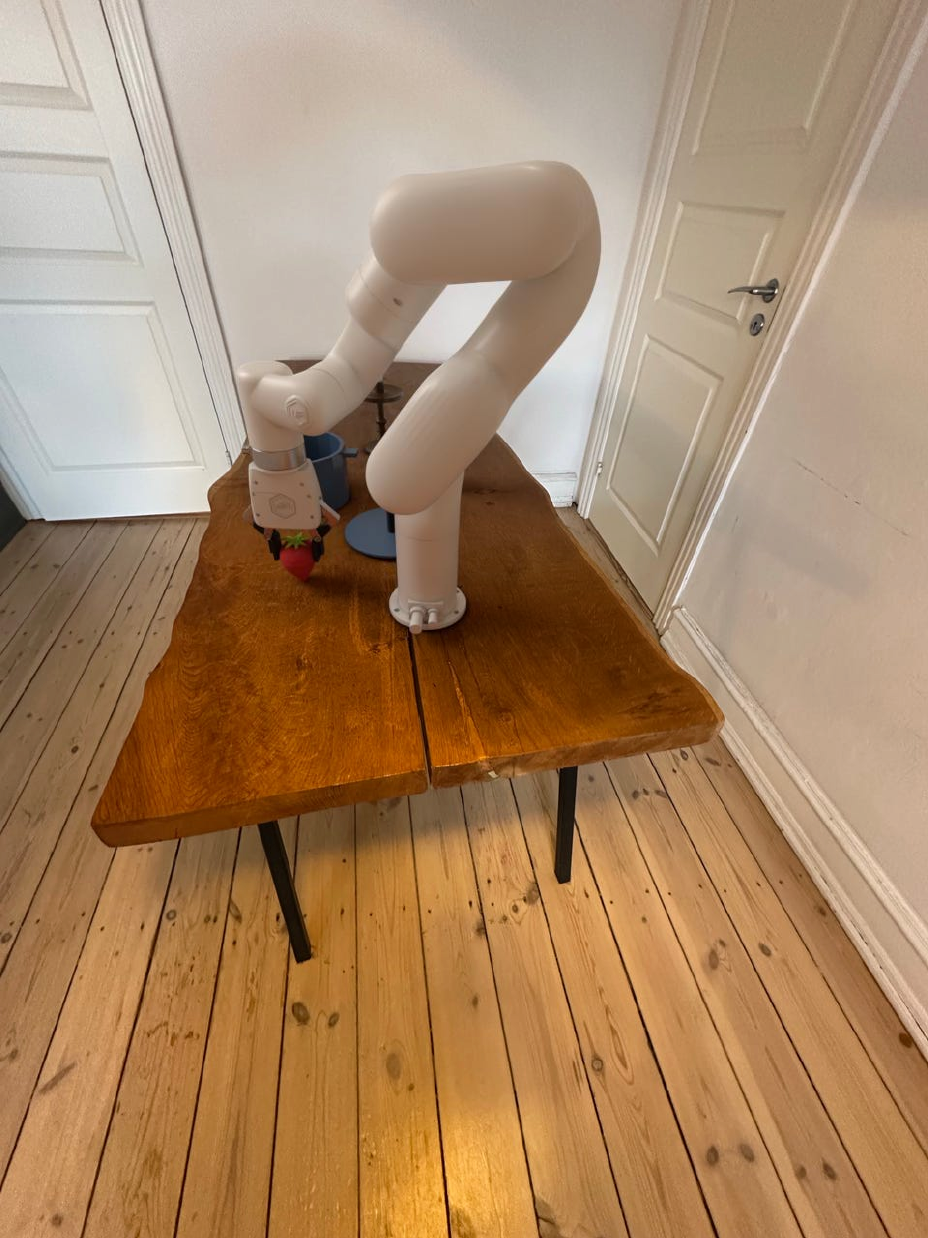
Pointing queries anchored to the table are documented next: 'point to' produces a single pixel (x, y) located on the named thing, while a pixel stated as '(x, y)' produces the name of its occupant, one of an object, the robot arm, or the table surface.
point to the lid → (373, 533)
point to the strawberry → (297, 556)
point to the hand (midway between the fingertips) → (298, 556)
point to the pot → (330, 466)
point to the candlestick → (380, 396)
